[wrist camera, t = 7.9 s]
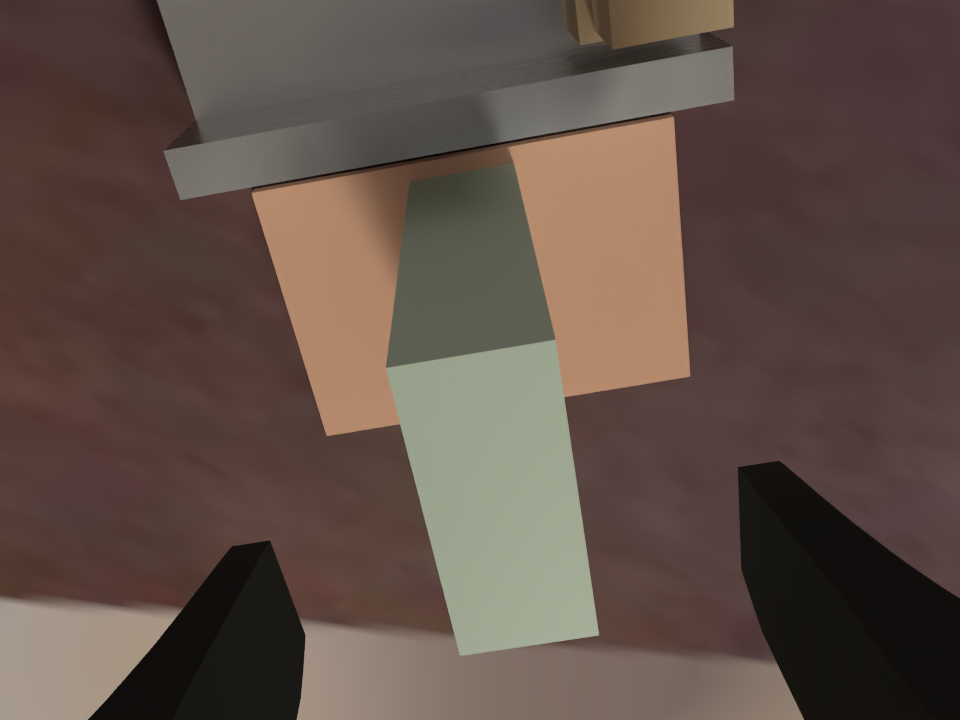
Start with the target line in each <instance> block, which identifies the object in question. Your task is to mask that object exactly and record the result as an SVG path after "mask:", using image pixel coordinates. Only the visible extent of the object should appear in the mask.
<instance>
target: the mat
mask: <svg viewBox="0 0 960 720" xmlns="http://www.w3.org/2000/svg"><path fill="white" fill-rule="evenodd" d="M511 163H514V165H515V169H516V174H517V178H518V182H519V186H520V191H521V195H522V199H523V203H524V208H525V212H526V216H527V220H528V225H529V229H530V233H531V237H532V241H533V246H534V250H535V254H536V258H537V263H538V267H539V271H540V275H541V280H542V284H543V288H544V292H545V297H546V301H547V305H548V309H549V313H550V318H551V322H552V326H553V330H554V335H555V339H556V345H557V352H558V359H559V366H560V373H561V379H562V386H563V393H564V397H568V396H574V395H580V394H586V393H592V392H598V391H604V390H610V389H617V388H623V387H629V386H635V385H641V384H647V383H653V382H659V381H665V380H672V379H678V378H684V377H690V365H689V349H688V334H687V318H686V302H685V287H684V271H683V255H682V239H681V224H680V208H679V192H678V177H677V161H676V145H675V130H674V117H673V116H672V115H671V114H668V115H663V116H657V117H652V118H646V119H640V120H635V121H629V122H624V123H618V124H613V125H607V126H602V127H596V128H590V129H585V130H579V131H574V132H568V133H563V134H557V135H552V136H546V137H540V138H535V139H529V140H524V141H518V142H513V143H507V144H502V145H496V146H490V147H485V148H479V149H474V150H468V151H463V152H457V153H452V154H446V155H440V156H435V157H429V158H424V159H418V160H413V161H407V162H402V163H396V164H390V165H385V166H379V167H374V168H368V169H363V170H357V171H352V172H346V173H340V174H335V175H329V176H324V177H318V178H313V179H307V180H302V181H296V182H291V183H285V184H279V185H274V186H268V187H263V188H257V189H254V190H253V191H252V196H253V199H254V203H255V206H256V209H257V212H258V216H259V219H260V222H261V225H262V228H263V232H264V235H265V238H266V241H267V245H268V248H269V251H270V254H271V257H272V261H273V264H274V267H275V270H276V274H277V277H278V280H279V283H280V287H281V290H282V293H283V296H284V299H285V303H286V306H287V309H288V312H289V316H290V319H291V322H292V325H293V328H294V332H295V335H296V338H297V341H298V345H299V348H300V351H301V354H302V358H303V361H304V364H305V367H306V370H307V374H308V377H309V380H310V383H311V387H312V390H313V393H314V396H315V400H316V403H317V406H318V409H319V412H320V416H321V419H322V422H323V425H324V429H325V432H326V435H327V436H330V435H336V434H342V433H348V432H354V431H360V430H366V429H372V428H378V427H384V426H391V425H397V424H400V421H399V417H398V413H397V409H396V406H395V402H394V398H393V394H392V390H391V386H390V382H389V378H388V375H387V371H386V363H387V355H388V347H389V339H390V331H391V323H392V315H393V308H394V300H395V292H396V284H397V276H398V268H399V260H400V252H401V244H402V236H403V228H404V220H405V213H406V205H407V197H408V189H409V182H410V181H415V180H421V179H427V178H432V177H438V176H443V175H449V174H455V173H460V172H466V171H472V170H477V169H483V168H488V167H494V166H500V165H505V164H511Z"/></svg>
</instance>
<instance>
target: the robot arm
mask: <svg viewBox="0 0 960 720" xmlns="http://www.w3.org/2000/svg"><path fill="white" fill-rule="evenodd" d="M738 483H739V512H740V540H741V569H742V573H743V576H744V579H745V582H746V585H747V588H748V591H749V594H750V597H751V600H752V603H753V606H754V609H755V612H756V615H757V618H758V621H759V624H760V626H761V629H762V632H763V634H764V636H765V638H766V640H767V643H768V645H769V647H770V649H771V651H772V653H773V655H774V657H775V660H776V662H777V664H778V666H779V668H780V670H781V672H782V674H783V676H784V679H785V681H786V683H787V685H788V687H789V689H790V691H791V693H792V695H793V697H794V699H795V701H796V703H797V706H798V708H799V710H800V711H801V713H802V716H803V718H804V720H960V598H958V597H957V596H955V595H953V594H952V593H950V592H949V591H947V590H945V589H944V588H942V587H941V586H939V585H938V584H936V583H935V582H933V581H932V580H931V579H929V578H928V577H926V576H925V575H923V574H922V573H920V572H919V571H917V570H916V569H915V568H913V567H912V566H910V565H909V564H907V563H906V562H905V561H903V560H902V559H901V558H899V557H898V556H896V555H895V554H894V553H892V552H891V551H890V550H888V549H887V548H886V547H884V546H883V545H882V544H880V543H879V542H878V541H876V540H875V539H874V538H873V537H871V536H870V535H869V534H867V533H866V532H865V531H863V530H862V529H861V528H860V527H858V526H857V525H856V524H854V523H853V522H852V521H851V520H849V519H848V518H847V517H846V516H844V515H843V514H842V513H841V512H840V511H838V510H837V509H836V508H835V507H834V506H832V505H831V504H830V503H829V502H828V501H826V500H825V499H824V498H823V497H822V496H820V495H819V494H818V493H817V492H816V491H815V490H813V489H812V488H811V487H810V486H809V485H808V484H806V483H805V482H804V481H803V480H802V479H801V478H799V477H798V476H797V475H796V474H795V473H794V472H792V471H791V470H790V469H789V468H788V467H787V466H785V465H784V464H782V463H781V462H780V461H775V462H769V463H762V464H756V465H750V466H743V467H738ZM304 650H305V633H304V630H303V628H302V625H301V622H300V620H299V617H298V614H297V612H296V609H295V606H294V604H293V601H292V598H291V596H290V593H289V590H288V587H287V585H286V582H285V579H284V577H283V574H282V571H281V569H280V566H279V563H278V561H277V558H276V555H275V553H274V550H273V547H272V545H271V542H270V541H264V542H258V543H251V544H245V545H239V546H232V547H231V548H230V549H229V551H228V552H227V553H226V554H225V556H224V557H223V558H222V559H221V561H220V562H219V563H218V564H217V566H216V567H215V568H214V570H213V571H212V572H211V573H210V575H209V576H208V577H207V579H206V580H205V581H204V583H203V584H202V585H201V586H200V588H199V589H198V590H197V592H196V593H195V594H194V596H193V597H192V598H191V599H190V601H189V602H188V603H187V605H186V606H185V607H184V608H183V610H182V611H181V612H180V613H179V615H178V616H177V617H176V619H175V620H174V621H173V622H172V624H171V625H170V626H169V627H168V629H167V630H166V631H165V632H164V634H163V635H162V636H161V638H160V639H159V640H158V641H157V642H156V644H155V645H154V646H153V647H152V648H151V650H150V651H149V652H148V653H147V654H146V655H145V657H144V658H143V659H142V660H141V661H140V662H139V664H138V665H137V666H136V667H135V668H134V669H133V670H132V671H131V673H130V674H129V675H128V676H127V677H126V679H125V680H124V681H123V682H122V683H121V684H120V685H119V686H118V687H117V689H116V690H115V691H114V692H113V693H112V694H111V696H110V697H109V698H108V699H107V700H106V701H105V702H104V703H103V704H102V705H101V706H100V708H99V709H98V710H97V711H96V712H95V713H94V714H93V715H92V716H91V717H90V718H89V719H88V720H296V719H297V714H298V709H299V703H300V699H301V689H302V677H303V664H304Z"/></svg>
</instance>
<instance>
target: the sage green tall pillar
mask: <svg viewBox="0 0 960 720" xmlns="http://www.w3.org/2000/svg"><path fill="white" fill-rule="evenodd" d="M386 371H387V375H388V378H389V382H390V386H391V390H392V394H393V398H394V402H395V406H396V409H397V413H398V417H399V421H400V425H401V429H402V433H403V437H404V440H405V444H406V448H407V452H408V456H409V460H410V464H411V468H412V471H413V475H414V479H415V483H416V487H417V491H418V495H419V499H420V502H421V506H422V510H423V514H424V518H425V522H426V526H427V530H428V534H429V537H430V541H431V545H432V549H433V553H434V557H435V561H436V565H437V568H438V572H439V576H440V580H441V584H442V588H443V592H444V596H445V599H446V603H447V607H448V611H449V615H450V619H451V623H452V627H453V630H454V634H455V638H456V642H457V646H458V650H459V654H460V656H462V655H470V654H476V653H482V652H490V651H496V650H503V649H510V648H517V647H524V646H530V645H537V644H544V643H551V642H557V641H564V640H571V639H578V638H584V637H591V636H598V635H599V632H598V625H597V619H596V612H595V605H594V598H593V591H592V584H591V578H590V571H589V564H588V557H587V550H586V543H585V537H584V530H583V523H582V516H581V509H580V502H579V496H578V489H577V482H576V475H575V468H574V461H573V455H572V448H571V441H570V434H569V427H568V420H567V414H566V407H565V400H564V393H563V386H562V379H561V373H560V366H559V359H558V352H557V345H556V339H555V335H554V330H553V326H552V322H551V318H550V313H549V309H548V305H547V301H546V297H545V292H544V288H543V284H542V280H541V275H540V271H539V267H538V263H537V258H536V254H535V250H534V246H533V241H532V237H531V233H530V229H529V225H528V220H527V216H526V212H525V208H524V203H523V199H522V195H521V191H520V186H519V182H518V178H517V174H516V169H515V165H514V163H511V164H505V165H500V166H494V167H488V168H483V169H477V170H472V171H466V172H460V173H455V174H449V175H443V176H438V177H432V178H427V179H421V180H415V181H410V182H409V189H408V197H407V205H406V213H405V220H404V228H403V236H402V244H401V252H400V260H399V268H398V276H397V284H396V292H395V300H394V308H393V315H392V323H391V331H390V339H389V347H388V355H387V363H386Z"/></svg>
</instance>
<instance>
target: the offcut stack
mask: <svg viewBox="0 0 960 720" xmlns="http://www.w3.org/2000/svg"><path fill="white" fill-rule="evenodd" d="M562 6H563V15H564V23H565V27H566V28H567V30H568V31H569V32H570V33H571V35H572V36H573V37H574V38H575V40H576V41H577V42H578V43H579V45H584V44H590V43H595V42H601V41H605V42H606V43H607V44H608V45H609V46H610V47H611V48H612V49H618V48H623V47H629V46H634V45H640V44H645V43H650V42H656V41H661V40H667V39H672V38H677V37H683V36H688V35H694V34H699V33H705V32H710V31H715V30H721V29H726V28H732V27H734V11H733V0H562Z"/></svg>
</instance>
